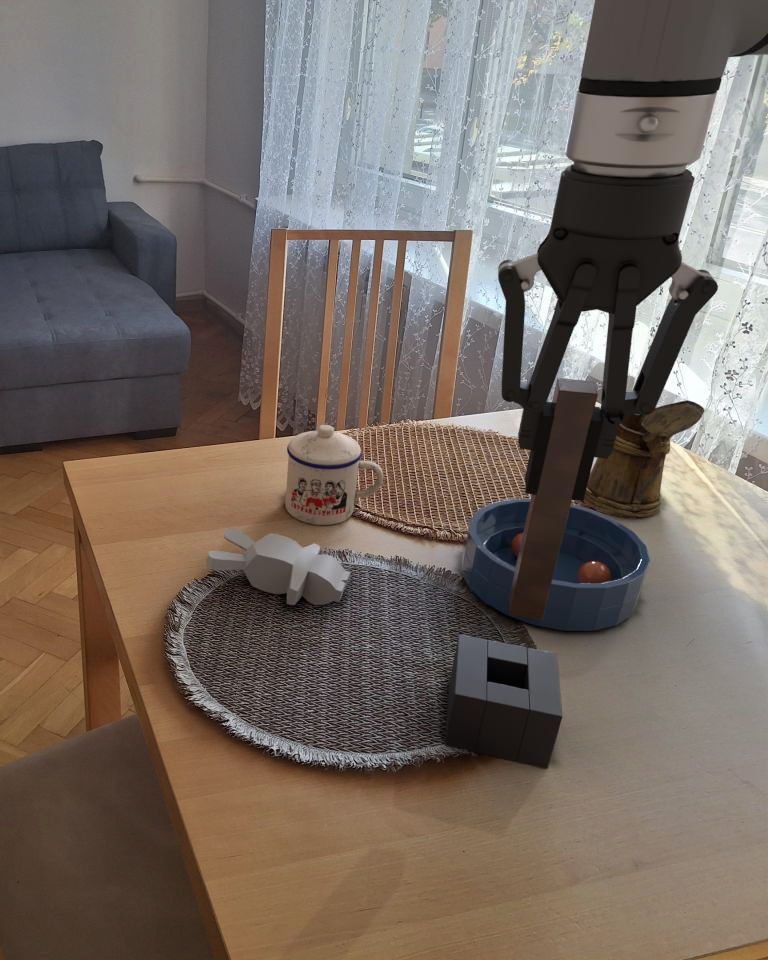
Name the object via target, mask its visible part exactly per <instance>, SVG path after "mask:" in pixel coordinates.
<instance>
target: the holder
mask: <svg viewBox="0 0 768 960" xmlns="http://www.w3.org/2000/svg"><path fill="white" fill-rule="evenodd" d="M450 672H451V673H450V677H449V682H448V694H447V708H446V718H445V720H446V721H445V731H444V733H445V735H444V746H446V747H451V748H456V749H460V750H464V751H468V752H473V753H477V754H481V755H485V756H489V757H494V758H498V759H502V760H507V761H512V762H517V763H520V764H525V765H528V766H533V767H536V768H537V767H538V768H541V769H549V766H550V763H551V759H552V755H553V752H554V748H555V745H556V741H557V738H558V734H559V730H560V727H561V723H562V720H563V717H564V716H563V707H562V706H563V705H562V696H561V694H562V693H561V684H560V682H561V681H560V672H559V658H558V653H557V652H552V651H547V650H541V649H536V648H530V647H526V646H521V645H516V644H510V643H505V642H499V641H495V640H489V639H485V638H480V637H474V636H469V635H464V634H458V635H457V642H456V647H455V651H454V657H453V662H452V666H451V671H450Z"/></svg>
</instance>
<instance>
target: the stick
mask: <svg viewBox="0 0 768 960" xmlns="http://www.w3.org/2000/svg"><path fill="white" fill-rule="evenodd" d="M556 378H557V379H556V380H555V381H556V382H555V386H554V391H553V395H552V399H551V400H552V401H551V402H552V410H553V416H554V418H553V423H552V427H551V432H550V436H549V441H548V445H547V450H546V454H545V459H544V463H543V468H542V472H541V477H540V481H539V486H538V490H537V495H533V494H531V496H530V498H531V500H530V505H529V509H528V514H527V518H526V523H525V528H524V532H523V537H522V541H521V546H520V550H519V555H518V560H517V564H516V569H515V573H514V578H513V582H512V587H511V591H510V596H509V614H510V615H512V616H518V617H524V618H529V619H535V620H541V621H542V620H543V616H544V612H545V608H546V604H547V600H548V596H549V592H550V588H551V583H552V579H553V575H554V571H555V567H556V563H557V559H558V555H559V551H560V547H561V543H562V539H563V535H564V531H565V526H566V522H567V518H568V514H569V510H570V506H571V504H572V502H573V500H572V497H573V493H574V489H575V485H576V481H577V477H578V472H579V468H580V464H581V460H582V456H583V452H584V448H585V444H586V440H587V436H588V432H589V428H590V424H591V420H592V417H593V413H594V409H595V407H596V405H597V400H598V397H599V394H598V390H597V385H596V382H595V381H594V380H582V379H572V378H561V377H556Z"/></svg>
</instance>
